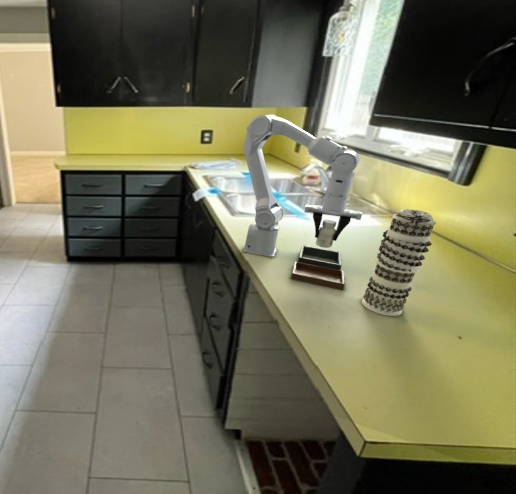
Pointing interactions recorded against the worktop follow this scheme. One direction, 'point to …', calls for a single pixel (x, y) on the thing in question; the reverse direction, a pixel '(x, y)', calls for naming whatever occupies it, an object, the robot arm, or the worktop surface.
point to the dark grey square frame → (322, 254)
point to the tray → (318, 275)
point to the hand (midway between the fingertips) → (325, 238)
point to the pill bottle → (326, 234)
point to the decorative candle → (398, 261)
